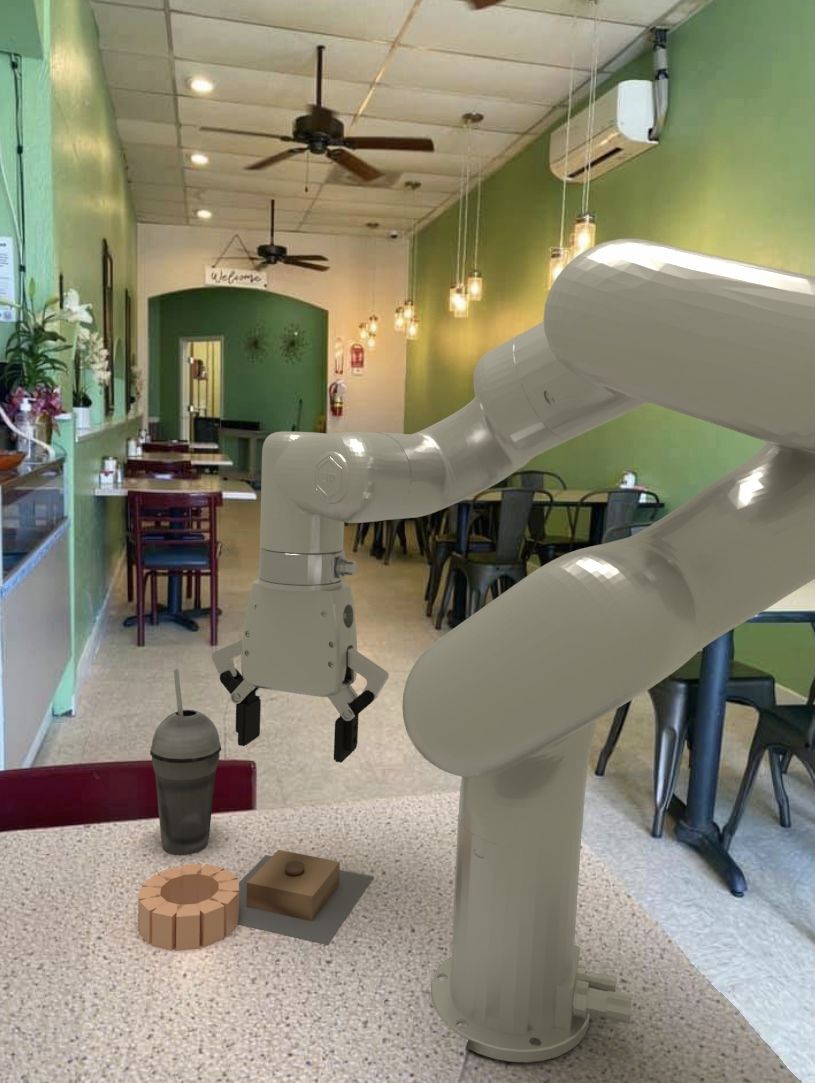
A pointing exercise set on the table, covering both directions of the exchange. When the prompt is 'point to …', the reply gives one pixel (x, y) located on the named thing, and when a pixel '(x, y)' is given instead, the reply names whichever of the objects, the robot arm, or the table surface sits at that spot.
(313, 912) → the lid
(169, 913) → the bowl
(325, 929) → the mat
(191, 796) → the beverage cup
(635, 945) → the table surface
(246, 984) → the table surface
